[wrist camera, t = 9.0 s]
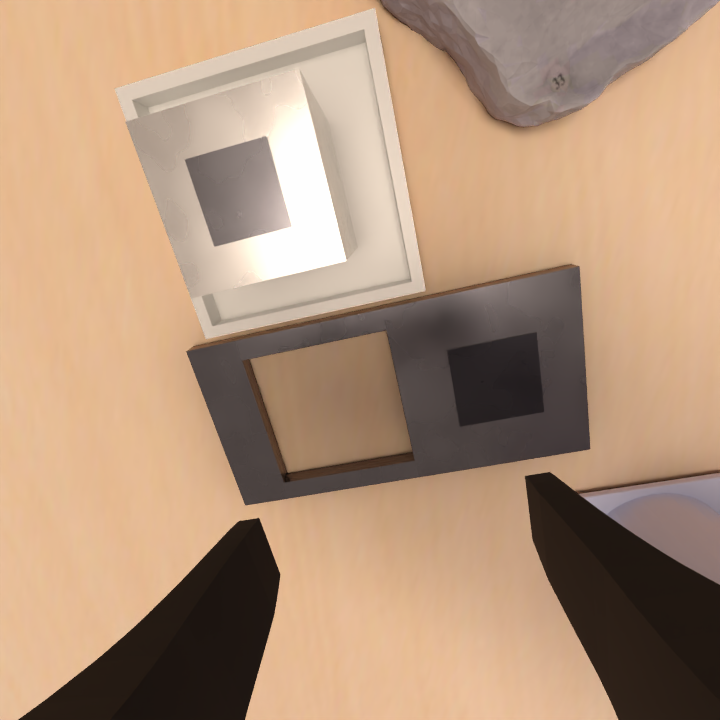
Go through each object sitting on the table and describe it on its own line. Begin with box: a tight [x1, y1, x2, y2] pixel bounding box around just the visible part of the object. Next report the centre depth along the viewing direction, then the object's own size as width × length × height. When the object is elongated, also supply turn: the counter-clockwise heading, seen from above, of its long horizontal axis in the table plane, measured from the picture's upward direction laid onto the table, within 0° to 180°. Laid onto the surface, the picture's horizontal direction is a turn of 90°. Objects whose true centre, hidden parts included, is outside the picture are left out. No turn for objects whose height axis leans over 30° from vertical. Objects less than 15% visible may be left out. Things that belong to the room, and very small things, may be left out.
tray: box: [115, 8, 426, 339], centre depth 17 cm, size 10×10×2 cm
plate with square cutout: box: [186, 264, 590, 505], centre depth 20 cm, size 9×18×1 cm, turn 103°
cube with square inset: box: [126, 68, 358, 298], centre depth 14 cm, size 5×5×6 cm
